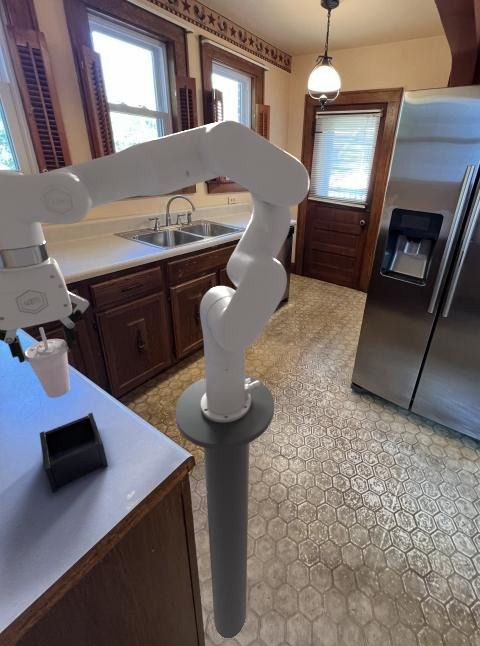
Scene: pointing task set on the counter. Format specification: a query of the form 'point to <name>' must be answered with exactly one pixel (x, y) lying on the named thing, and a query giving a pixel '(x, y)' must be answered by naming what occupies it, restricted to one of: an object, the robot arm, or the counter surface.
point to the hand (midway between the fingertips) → (46, 350)
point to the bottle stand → (77, 461)
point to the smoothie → (50, 364)
